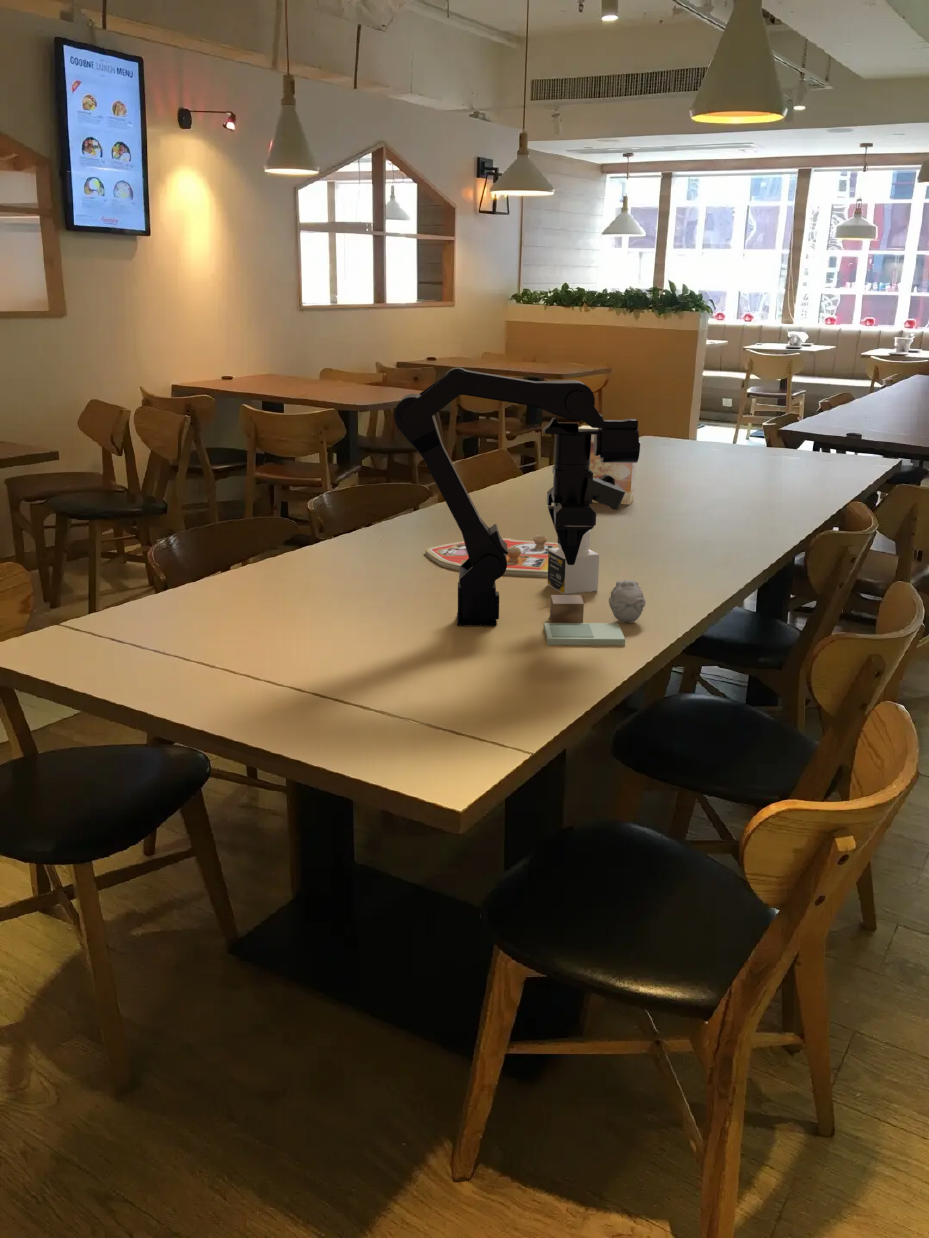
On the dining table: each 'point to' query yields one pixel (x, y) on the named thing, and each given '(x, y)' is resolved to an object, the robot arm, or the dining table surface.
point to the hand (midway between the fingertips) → (568, 557)
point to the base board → (583, 634)
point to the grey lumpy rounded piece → (627, 601)
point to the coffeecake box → (614, 472)
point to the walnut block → (566, 609)
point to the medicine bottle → (574, 569)
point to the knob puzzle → (520, 557)
